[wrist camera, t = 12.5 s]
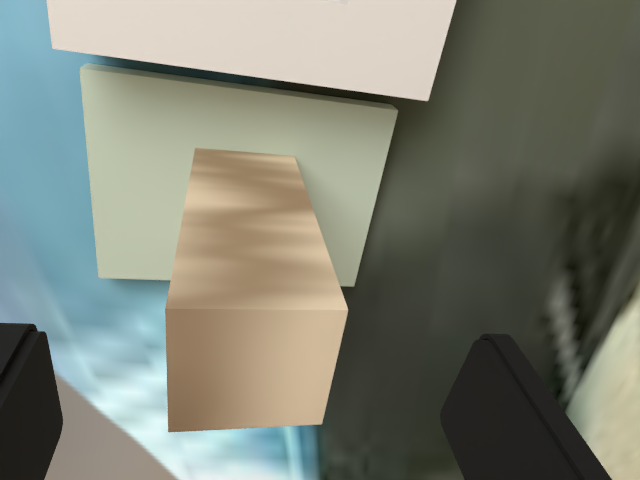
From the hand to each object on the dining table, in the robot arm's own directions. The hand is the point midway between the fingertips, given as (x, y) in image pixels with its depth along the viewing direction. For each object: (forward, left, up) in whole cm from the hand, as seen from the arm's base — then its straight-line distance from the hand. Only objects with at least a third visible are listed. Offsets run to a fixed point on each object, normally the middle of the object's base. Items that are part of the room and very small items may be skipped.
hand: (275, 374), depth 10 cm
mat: (0, +1, -12) cm, 12 cm away
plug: (0, +1, -11) cm, 11 cm away
